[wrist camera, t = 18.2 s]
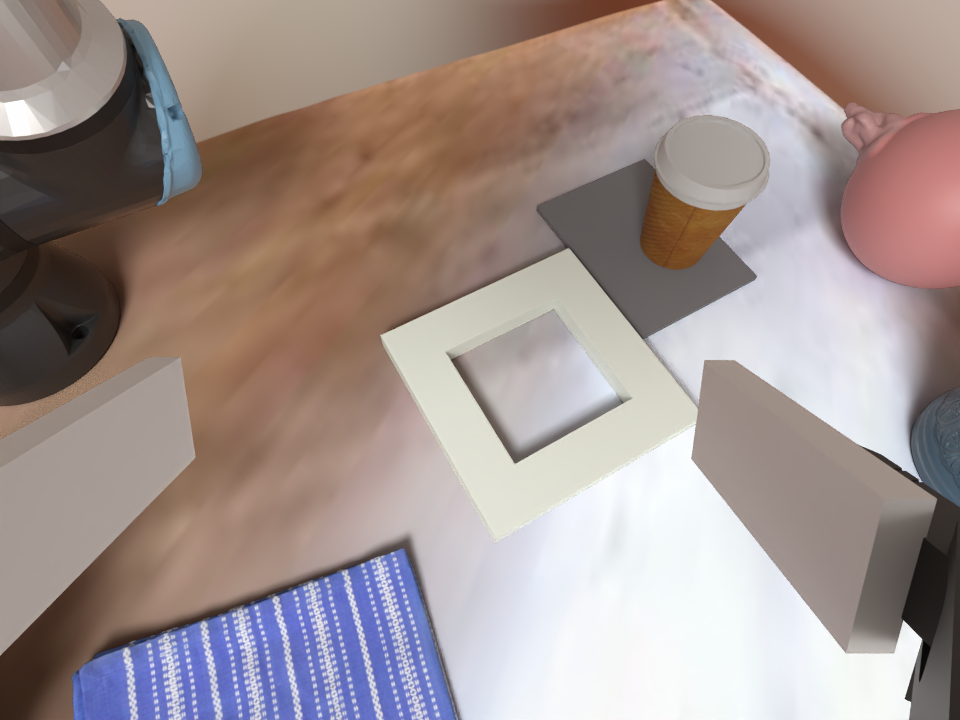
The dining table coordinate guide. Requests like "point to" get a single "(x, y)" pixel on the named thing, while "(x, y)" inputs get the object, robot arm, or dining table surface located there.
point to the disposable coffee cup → (700, 187)
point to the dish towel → (285, 658)
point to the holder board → (575, 457)
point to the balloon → (904, 195)
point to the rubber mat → (637, 252)
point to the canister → (939, 445)
